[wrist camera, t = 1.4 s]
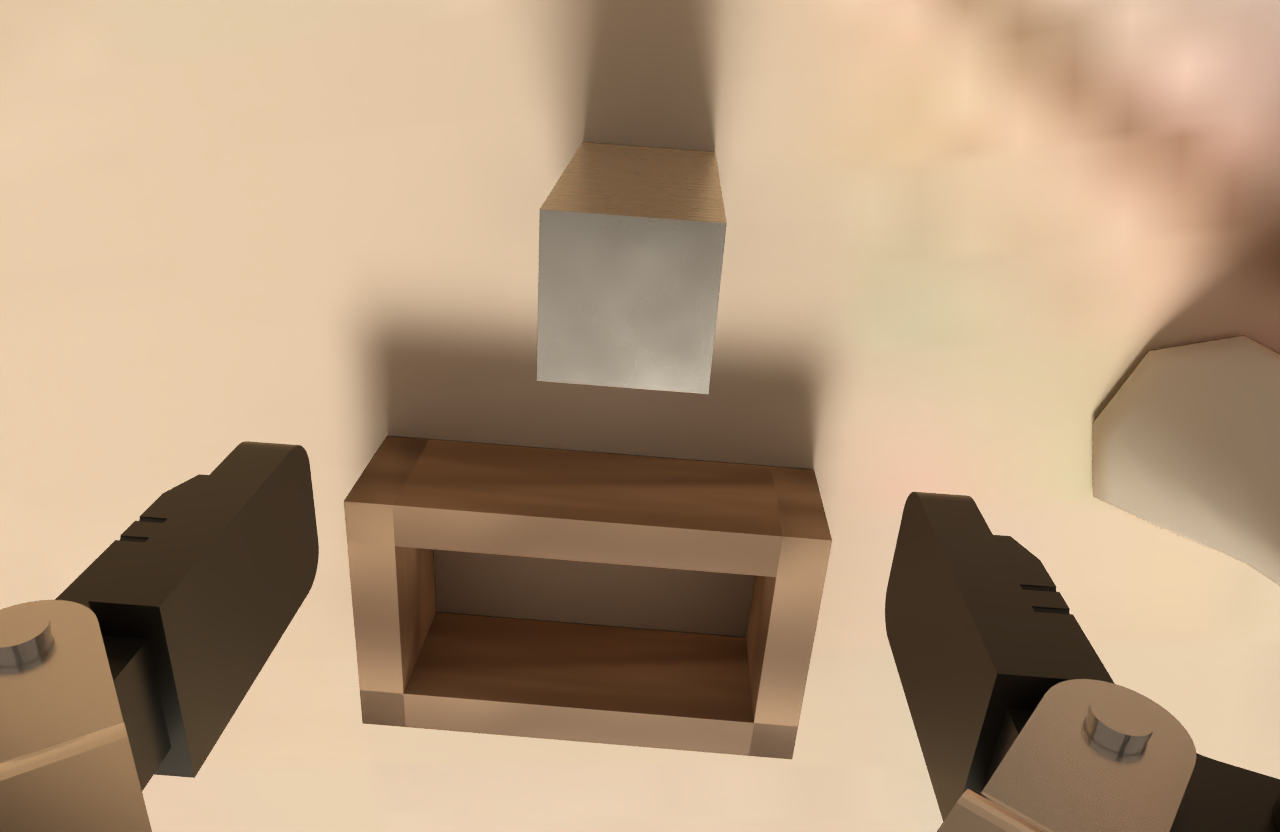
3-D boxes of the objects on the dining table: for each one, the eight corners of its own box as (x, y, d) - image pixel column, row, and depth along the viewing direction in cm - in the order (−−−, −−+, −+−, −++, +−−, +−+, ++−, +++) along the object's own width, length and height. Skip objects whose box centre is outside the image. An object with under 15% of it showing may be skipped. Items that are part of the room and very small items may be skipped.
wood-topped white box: (582, 142, 28) (539, 209, 20) (715, 152, 28) (726, 223, 20) (577, 270, 30) (536, 381, 21) (702, 279, 30) (708, 394, 21)
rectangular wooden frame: (386, 435, 32) (343, 501, 28) (813, 469, 32) (832, 540, 28) (399, 640, 36) (362, 723, 32) (780, 671, 36) (791, 759, 32)
